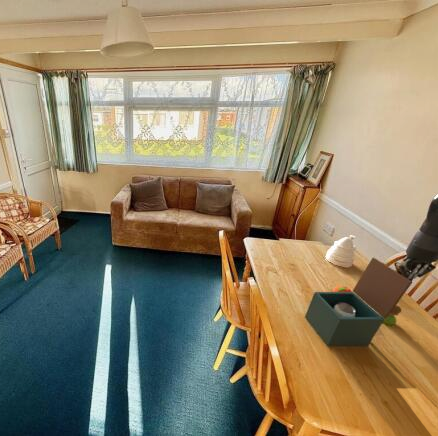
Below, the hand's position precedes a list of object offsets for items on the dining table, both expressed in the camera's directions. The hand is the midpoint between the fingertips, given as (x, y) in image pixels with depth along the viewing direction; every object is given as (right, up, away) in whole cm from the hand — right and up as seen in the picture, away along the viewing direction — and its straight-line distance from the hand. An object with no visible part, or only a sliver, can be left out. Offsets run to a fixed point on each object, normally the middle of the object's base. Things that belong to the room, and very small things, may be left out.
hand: (403, 284), depth 85 cm
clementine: (-1, -15, +27) cm, 30 cm away
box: (-17, -22, +10) cm, 30 cm away
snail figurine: (+7, -21, +14) cm, 26 cm away
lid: (-9, -1, 0) cm, 9 cm away
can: (-17, -21, +10) cm, 29 cm away
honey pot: (+22, -2, +55) cm, 59 cm away
